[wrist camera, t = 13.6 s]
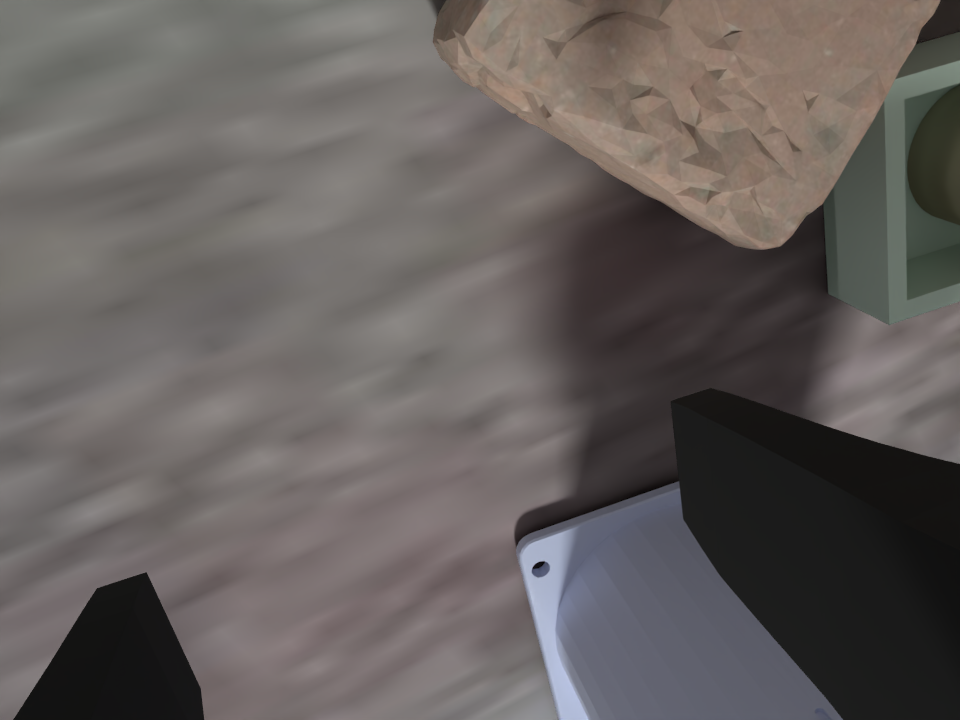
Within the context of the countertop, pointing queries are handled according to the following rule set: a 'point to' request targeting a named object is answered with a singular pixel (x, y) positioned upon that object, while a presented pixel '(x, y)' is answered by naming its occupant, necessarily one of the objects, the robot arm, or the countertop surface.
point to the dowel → (938, 159)
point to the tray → (894, 204)
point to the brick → (695, 92)
